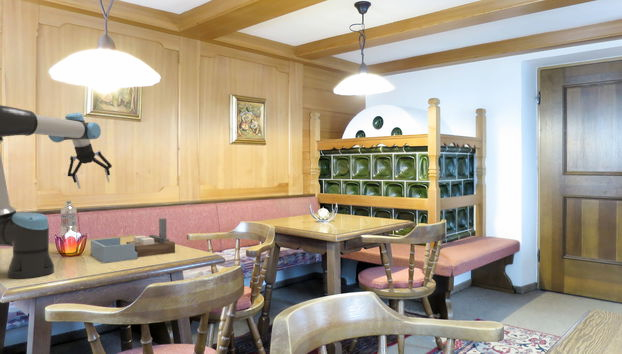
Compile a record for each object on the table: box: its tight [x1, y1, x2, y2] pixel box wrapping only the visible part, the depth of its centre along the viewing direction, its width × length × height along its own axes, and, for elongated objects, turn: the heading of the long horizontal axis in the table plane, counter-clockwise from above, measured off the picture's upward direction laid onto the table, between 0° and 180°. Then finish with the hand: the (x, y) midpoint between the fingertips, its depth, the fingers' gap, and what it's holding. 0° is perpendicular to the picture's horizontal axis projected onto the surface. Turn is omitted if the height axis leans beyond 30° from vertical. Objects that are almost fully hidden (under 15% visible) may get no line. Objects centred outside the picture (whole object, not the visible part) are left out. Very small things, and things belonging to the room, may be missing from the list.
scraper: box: [149, 217, 170, 244], centre depth 219 cm, size 15×6×11 cm, turn 38°
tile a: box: [140, 236, 154, 245], centre depth 211 cm, size 5×5×2 cm
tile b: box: [133, 235, 148, 243], centre depth 217 cm, size 5×5×2 cm
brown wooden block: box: [125, 239, 176, 258], centre depth 216 cm, size 16×18×5 cm
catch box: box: [90, 237, 138, 264], centre depth 205 cm, size 24×14×7 cm, turn 38°
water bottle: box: [60, 200, 78, 236], centre depth 215 cm, size 7×7×25 cm
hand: (94, 184), depth 225 cm, fingers open, 13 cm apart
